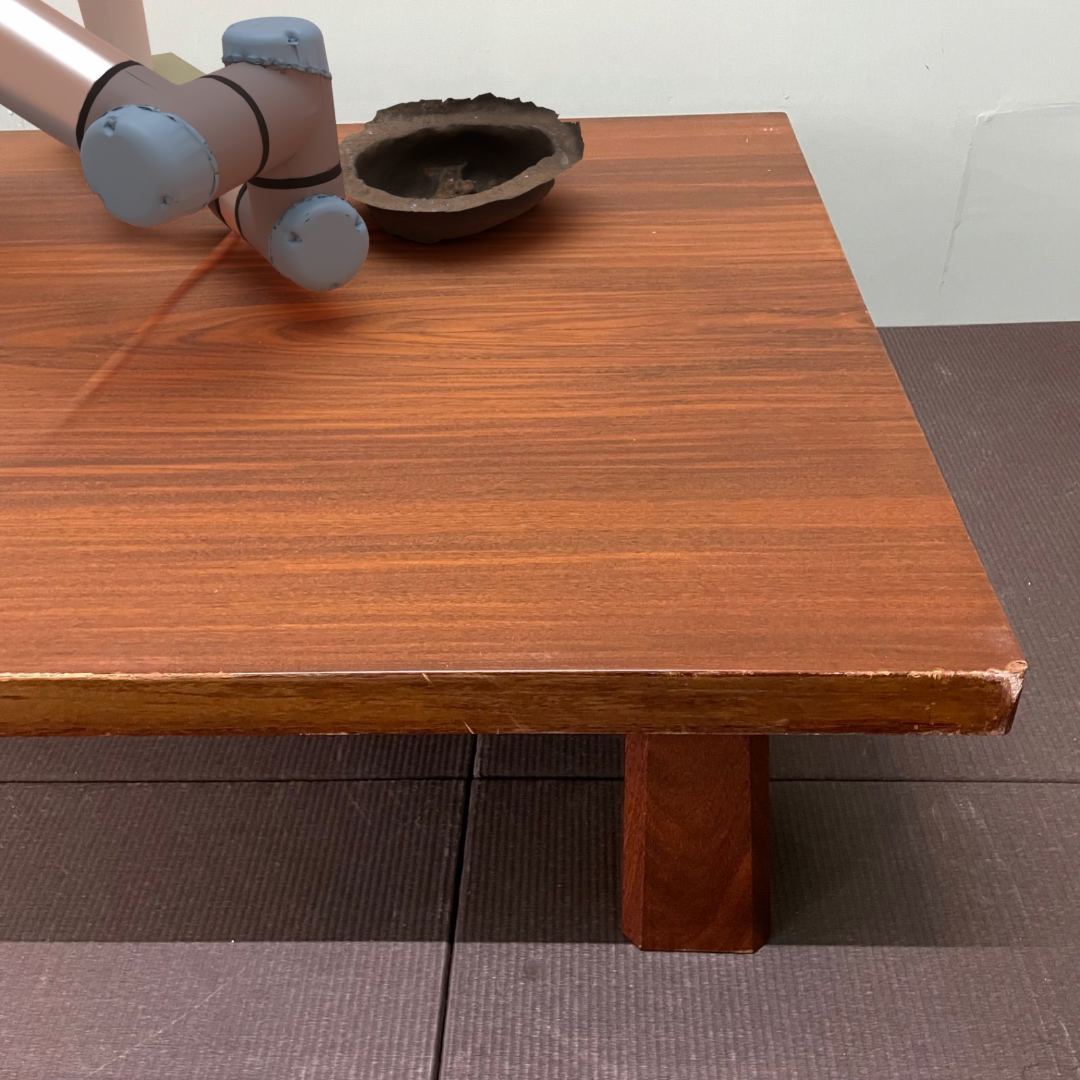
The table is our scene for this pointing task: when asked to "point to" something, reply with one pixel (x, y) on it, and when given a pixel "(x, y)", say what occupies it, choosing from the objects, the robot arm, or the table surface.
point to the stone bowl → (456, 163)
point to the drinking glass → (119, 26)
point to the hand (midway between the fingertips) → (181, 136)
